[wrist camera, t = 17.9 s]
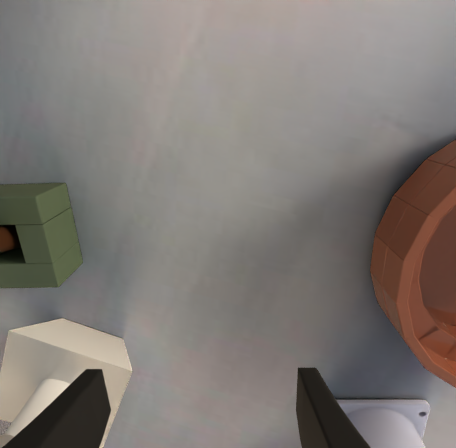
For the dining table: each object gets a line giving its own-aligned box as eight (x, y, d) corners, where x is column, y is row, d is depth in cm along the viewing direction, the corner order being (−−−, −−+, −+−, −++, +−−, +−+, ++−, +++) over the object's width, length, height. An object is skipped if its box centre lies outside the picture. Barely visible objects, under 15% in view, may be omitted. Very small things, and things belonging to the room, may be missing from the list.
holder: (83, 262, 20) (58, 287, 18) (4, 264, 21) (-33, 289, 18) (66, 182, 19) (36, 196, 16) (-21, 184, 19) (-66, 198, 16)
